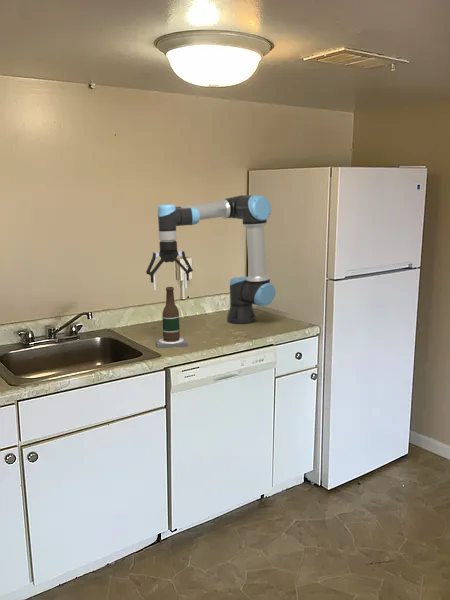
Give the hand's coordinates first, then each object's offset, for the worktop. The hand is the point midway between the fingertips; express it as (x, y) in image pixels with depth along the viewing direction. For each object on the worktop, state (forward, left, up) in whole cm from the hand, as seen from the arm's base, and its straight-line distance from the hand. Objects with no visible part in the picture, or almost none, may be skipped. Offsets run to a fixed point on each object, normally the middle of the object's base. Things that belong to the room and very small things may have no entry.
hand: (170, 289), depth 244 cm
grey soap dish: (0, 0, -25) cm, 25 cm away
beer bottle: (0, 0, -23) cm, 23 cm away
